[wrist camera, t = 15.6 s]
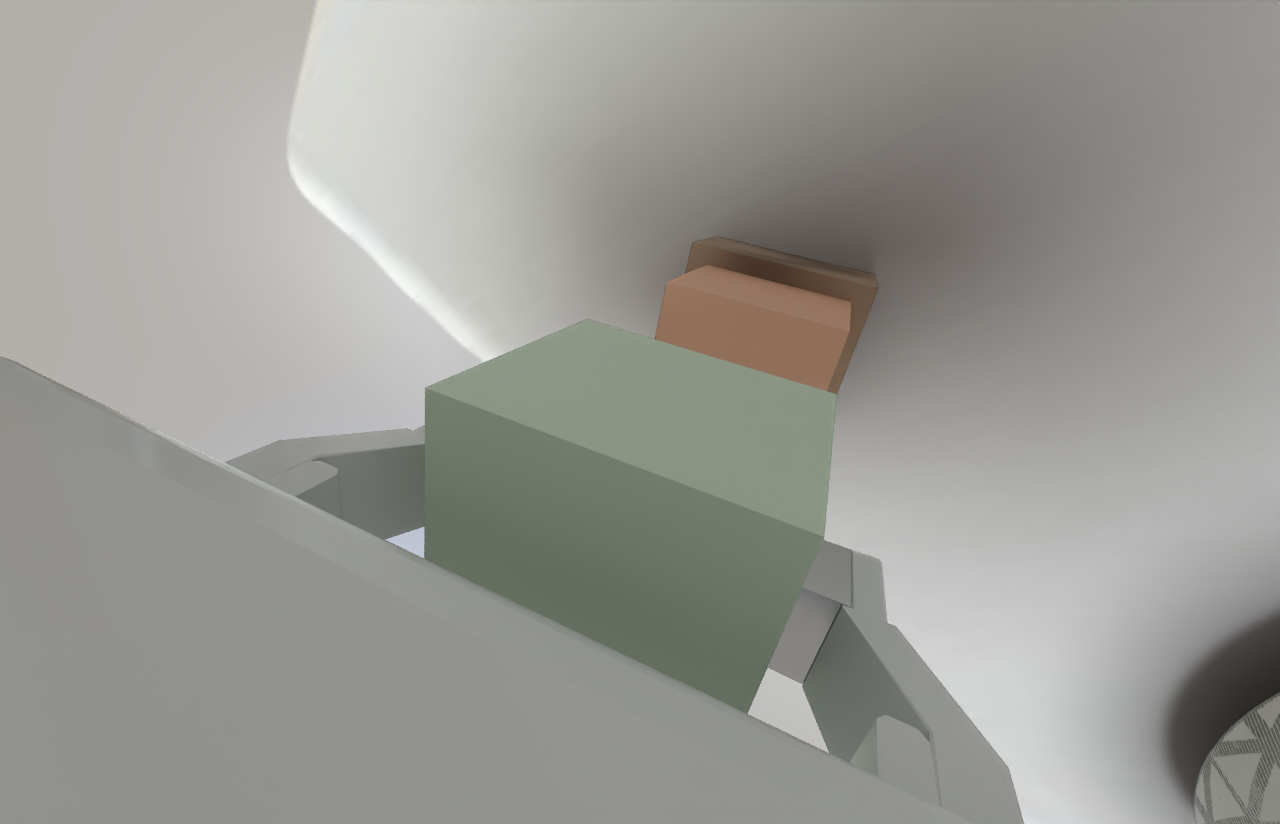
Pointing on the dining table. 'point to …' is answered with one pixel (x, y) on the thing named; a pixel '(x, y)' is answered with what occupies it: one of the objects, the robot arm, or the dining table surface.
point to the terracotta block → (756, 324)
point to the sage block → (634, 496)
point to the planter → (1243, 771)
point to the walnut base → (795, 281)
